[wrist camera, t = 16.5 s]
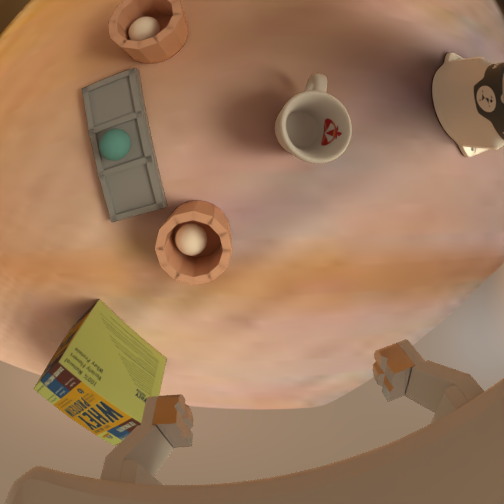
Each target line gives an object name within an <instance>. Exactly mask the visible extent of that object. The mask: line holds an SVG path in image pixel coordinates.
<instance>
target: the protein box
mask: <svg viewBox="0 0 504 504" xmlns="http://www.w3.org/2000/svg"><path fill="white" fill-rule="evenodd" d="M166 361H167V358H166V357H164V356H163V355H162V354H161V353H159V352H158V351H157V350H156V349H154V348H153V347H152V346H151V345H150V344H148V343H147V342H146V341H145V340H144V339H143V338H141V337H140V336H139V335H138V334H137V333H136V332H134V331H133V330H132V329H131V328H130V327H129V326H128V325H127V324H125V323H124V322H123V321H122V320H121V319H120V318H119V317H118V316H117V315H116V314H115V313H113V312H112V311H111V310H110V309H109V308H108V307H107V306H106V305H105V304H104V303H103V302H102V301H101V300H98V301H97V302H96V303H95V304H94V305H93V306H92V307H91V308H90V309H89V310H88V311H87V312H86V313H85V314H84V315H83V316H82V317H81V318H80V320H79V321H78V322H77V323H76V324H75V325H74V326H73V327H72V328H71V329H70V331H69V332H68V334H67V335H66V337H65V339H64V340H63V342H62V343H61V345H60V346H59V348H58V350H57V351H56V353H55V354H54V356H53V358H52V359H51V361H50V362H49V364H48V366H47V367H46V369H45V371H44V372H43V374H42V376H41V377H40V379H39V381H38V383H37V384H36V386H35V387H34V390H35V391H37V392H38V393H39V394H40V395H41V396H43V397H44V398H45V399H46V400H48V401H49V402H50V403H52V404H53V405H54V406H56V407H57V408H58V409H59V410H61V411H62V412H63V413H65V414H66V415H67V416H69V417H70V418H71V419H73V420H74V421H76V422H77V423H79V424H80V425H82V426H83V427H85V428H86V429H88V430H90V431H91V432H92V433H94V434H95V435H97V436H99V437H100V438H102V439H104V440H105V441H107V442H109V443H110V444H112V445H118V444H120V443H121V442H122V441H123V440H124V439H125V438H126V437H127V436H128V435H129V434H130V433H131V432H132V431H133V430H134V429H135V428H136V427H137V426H138V425H141V421H142V417H143V412H144V408H145V403H146V399H147V398H148V397H152V396H159V393H160V389H161V384H162V379H163V374H164V369H165V365H166Z"/></svg>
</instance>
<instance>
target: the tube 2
mask: <svg viewBox="0 0 504 504" xmlns="http://www.w3.org/2000/svg"><path fill="white" fill-rule="evenodd" d="M189 223H194V224H197V225H199V226H201V227H202V228H203V229H204V230H205V232H206V234H207V244H206V247H205V248H204V250H203V251H202V252H201V253H199V254H197V255H193V256H190V255H186V254H184V253H182V252H181V251H180V250H179V249H178V247H177V245H176V241H175V238H176V234H177V232H178V230H179V229H180V228H181V227H182V226H183V225H185V224H189ZM155 251H156V254H157V257H158V260H159V263H160V266H161V267H162V268H163V269H164V270H165V271H166V272H167V273H168V274H169V275H170V276H171V277H172V278H173V279H174V280H177V281H181V282H184V283H188V284H191V285H196V284H201V283H206V282H211V281H213V280H214V279H215V278H216V277H218V276H219V275H220V274H221V273H222V272H223V271H225V270H226V269H227V266H228V263H229V260H230V257H231V254H232V240H231V233H230V226H229V222H228V219H227V218H226V216H225V214H224V213H223V212H222V211H221V210H220V209H219V208H218V207H216V206H215V205H213V204H211V203H209V202H205V201H190V202H187V203H184V204H182V205H180V206H179V207H178V208H176V209H175V210H174V211H173V213H172V214H171V215H170V216H169V217H168V218H167V220H166V221H165V222H164V224H163V225H162V226H161V228H160V229H159V232H158V236H157V241H156V245H155Z"/></svg>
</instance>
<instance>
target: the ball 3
mask: <svg viewBox="0 0 504 504" xmlns="http://www.w3.org/2000/svg"><path fill="white" fill-rule="evenodd" d="M175 241H176V245H177V247H178V249H179V250H180V251H181V252H182V253H184V254H186V255H190V256H193V255H197V254H199V253H201V252H202V251H203V250H204V248H205V247H206V244H207V234H206V232H205V230H204V229H203V228H202V227H201V226H199V225H197V224H194V223H189V224H185V225H183V226H182V227H181V228H180V229H179V230H178V232H177V234H176V238H175Z"/></svg>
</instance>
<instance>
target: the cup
mask: <svg viewBox="0 0 504 504" xmlns="http://www.w3.org/2000/svg"><path fill="white" fill-rule="evenodd" d="M326 90H327V78H326V76H324V75H322V74H319V73H314V74H313V75H311V77H310V78H309V80H308V82H307V85H306V89H305V91H304V92H301V93H298V94H296V95H295V96H293V97H292V98H290V99H289V100H288V101H287V103H286V104H285V105H284V107H283V108H282V110H281V111H280V113H279V115H278V117H277V119H276V122H275V135H276V138H277V140H278V142H279V143H280V145H281V146H282V147H283V148H284V149H285V150H286V151H288V152H289V153H291V154H292V155H294V156H296V157H297V158H299V159H301V160H303V161H306V162H309V163H318V164H319V163H326V162H329V161H332V160H334V159H336V158H337V157H339V156H340V155H341V154H342V153H343V152H344V151H345V149H346V148H347V146H348V144H349V142H350V139H351V134H352V124H351V120H350V116H349V114H348V112H347V110H346V108H345V107H344V106H343V104H342V103H341V102H340V101H339V100H338V99H336V98H335V97H334V96H332V95H330V94H328V93H326Z"/></svg>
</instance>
